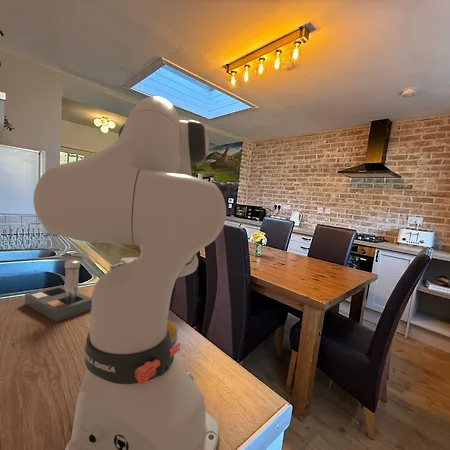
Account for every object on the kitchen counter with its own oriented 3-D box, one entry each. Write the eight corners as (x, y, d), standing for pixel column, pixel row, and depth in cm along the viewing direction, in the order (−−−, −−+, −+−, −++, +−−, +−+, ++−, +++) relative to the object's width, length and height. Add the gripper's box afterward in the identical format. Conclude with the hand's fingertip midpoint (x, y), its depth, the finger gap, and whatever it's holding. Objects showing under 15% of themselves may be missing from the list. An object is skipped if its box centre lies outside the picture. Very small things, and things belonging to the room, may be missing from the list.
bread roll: (143, 328, 67) (144, 314, 67) (178, 330, 68) (179, 316, 68) (135, 347, 59) (136, 330, 59) (174, 349, 60) (175, 333, 60)
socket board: (92, 308, 75) (93, 298, 74) (56, 322, 66) (56, 309, 65) (61, 294, 82) (61, 284, 82) (24, 304, 73) (25, 293, 73)
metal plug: (80, 309, 74) (82, 261, 72) (68, 313, 70) (69, 264, 69) (73, 305, 75) (75, 259, 74) (60, 309, 72) (62, 261, 70)
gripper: (143, 252, 97) (104, 255, 87) (172, 266, 82) (130, 272, 73) (142, 268, 97) (104, 273, 88) (170, 285, 83) (128, 293, 73)
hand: (115, 272), depth 80 cm, fingers open, 8 cm apart
